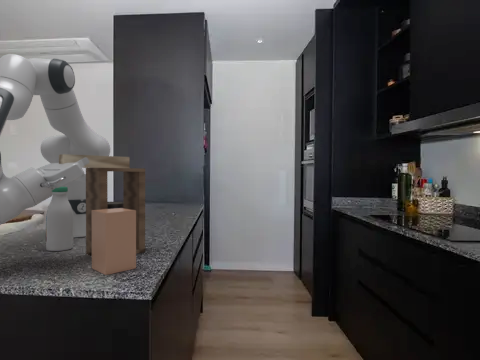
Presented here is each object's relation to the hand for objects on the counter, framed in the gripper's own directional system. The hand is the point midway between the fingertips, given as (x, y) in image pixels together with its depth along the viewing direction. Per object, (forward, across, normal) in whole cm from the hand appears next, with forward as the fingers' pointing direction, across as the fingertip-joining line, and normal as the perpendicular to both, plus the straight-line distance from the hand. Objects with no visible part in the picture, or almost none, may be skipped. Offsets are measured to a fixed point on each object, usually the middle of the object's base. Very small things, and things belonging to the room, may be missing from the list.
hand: (83, 159), depth 95 cm
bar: (+2, 0, +4) cm, 4 cm away
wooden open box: (-6, 0, +29) cm, 30 cm away
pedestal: (-13, -15, +25) cm, 32 cm away
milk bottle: (-14, +18, +24) cm, 34 cm away
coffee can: (-1, +16, +32) cm, 36 cm away
